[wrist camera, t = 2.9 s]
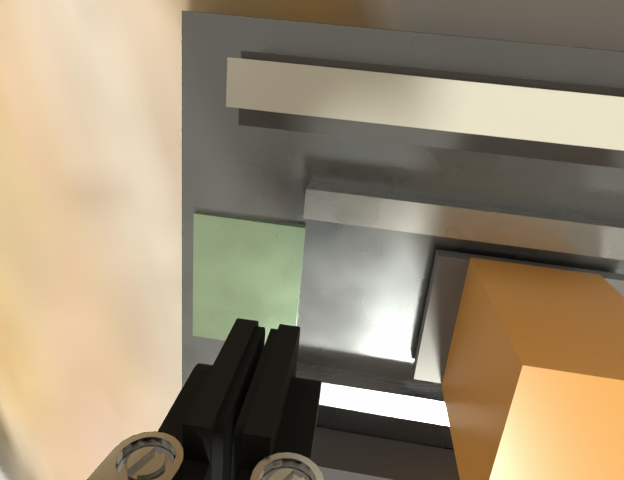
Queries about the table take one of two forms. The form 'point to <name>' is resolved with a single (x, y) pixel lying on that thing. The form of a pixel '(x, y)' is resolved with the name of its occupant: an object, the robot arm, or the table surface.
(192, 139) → the panel
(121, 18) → the table surface
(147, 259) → the table surface
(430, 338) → the toggle
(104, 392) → the table surface
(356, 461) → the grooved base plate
